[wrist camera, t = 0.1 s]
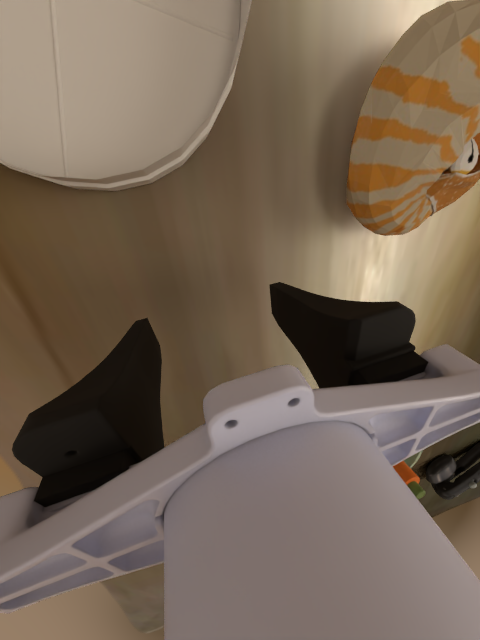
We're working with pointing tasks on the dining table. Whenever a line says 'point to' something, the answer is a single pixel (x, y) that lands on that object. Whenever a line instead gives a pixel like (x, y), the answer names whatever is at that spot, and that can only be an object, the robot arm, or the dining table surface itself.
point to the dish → (113, 85)
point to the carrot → (409, 479)
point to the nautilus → (419, 124)
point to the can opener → (454, 473)
